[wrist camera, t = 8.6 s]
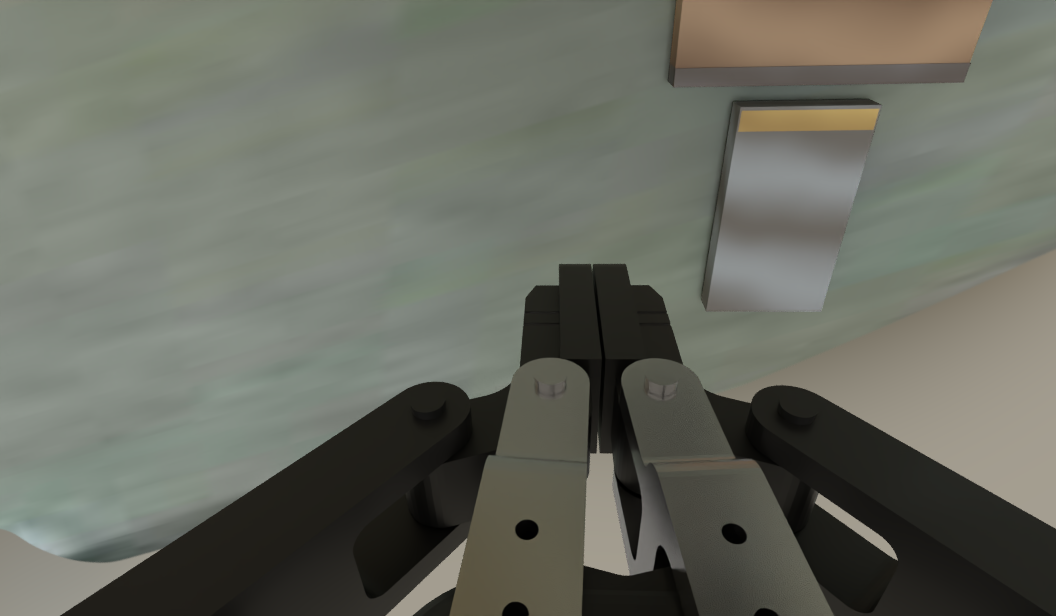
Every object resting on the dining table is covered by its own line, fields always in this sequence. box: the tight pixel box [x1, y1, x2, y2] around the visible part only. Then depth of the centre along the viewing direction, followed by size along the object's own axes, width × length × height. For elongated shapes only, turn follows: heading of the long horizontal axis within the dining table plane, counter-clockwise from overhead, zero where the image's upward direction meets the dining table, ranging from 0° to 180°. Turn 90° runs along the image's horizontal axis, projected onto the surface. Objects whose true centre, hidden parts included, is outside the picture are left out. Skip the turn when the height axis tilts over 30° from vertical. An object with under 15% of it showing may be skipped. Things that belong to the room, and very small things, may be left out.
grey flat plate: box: [701, 99, 882, 311], centre depth 37 cm, size 14×8×2 cm, turn 1°
